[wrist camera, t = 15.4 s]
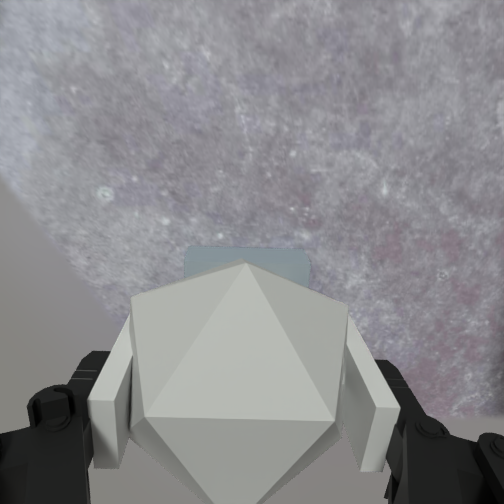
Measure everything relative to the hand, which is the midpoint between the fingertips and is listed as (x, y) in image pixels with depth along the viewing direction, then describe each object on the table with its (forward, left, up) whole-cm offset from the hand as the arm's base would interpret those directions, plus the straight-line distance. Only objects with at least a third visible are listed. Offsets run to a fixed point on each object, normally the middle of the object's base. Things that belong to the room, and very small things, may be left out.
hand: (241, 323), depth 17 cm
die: (0, 0, 0) cm, 1 cm away
